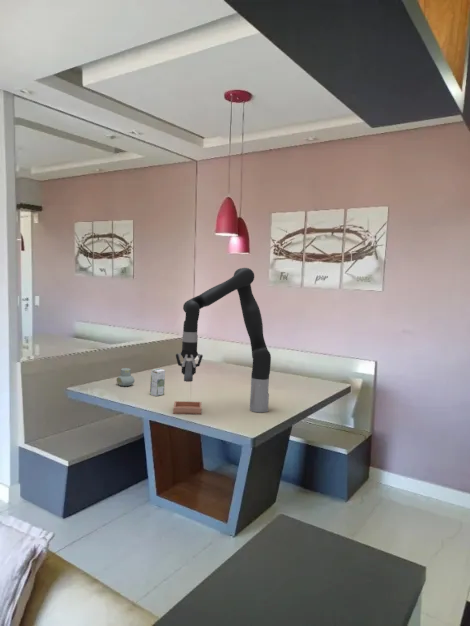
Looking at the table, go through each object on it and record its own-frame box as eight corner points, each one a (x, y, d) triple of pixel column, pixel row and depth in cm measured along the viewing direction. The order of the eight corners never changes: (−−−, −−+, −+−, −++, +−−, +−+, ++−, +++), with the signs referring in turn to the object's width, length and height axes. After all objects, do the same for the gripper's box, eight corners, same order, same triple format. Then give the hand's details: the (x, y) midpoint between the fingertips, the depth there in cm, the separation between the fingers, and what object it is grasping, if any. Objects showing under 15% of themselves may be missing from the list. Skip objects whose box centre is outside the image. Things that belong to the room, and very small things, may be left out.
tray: (201, 407, 245) (201, 401, 245) (201, 414, 233) (201, 408, 233) (174, 406, 244) (174, 401, 243) (173, 413, 232) (173, 407, 232)
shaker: (193, 379, 237) (194, 356, 236) (192, 381, 233) (193, 358, 232) (183, 379, 237) (184, 356, 236) (183, 381, 232) (184, 357, 231)
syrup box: (157, 392, 270) (158, 368, 269) (164, 394, 266) (165, 369, 265) (149, 394, 265) (150, 369, 264) (156, 396, 262) (157, 371, 260)
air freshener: (114, 384, 285) (115, 368, 284) (127, 382, 291) (127, 366, 290) (123, 388, 277) (123, 371, 276) (135, 386, 283) (136, 370, 282)
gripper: (204, 340, 237) (202, 373, 238) (176, 338, 236) (174, 372, 238) (204, 342, 230) (202, 376, 231) (174, 341, 229) (173, 375, 230)
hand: (188, 374), depth 234 cm, fingers closed on shaker, 4 cm apart
